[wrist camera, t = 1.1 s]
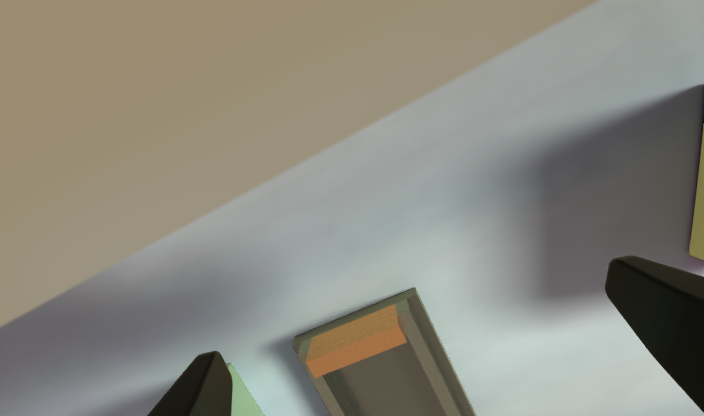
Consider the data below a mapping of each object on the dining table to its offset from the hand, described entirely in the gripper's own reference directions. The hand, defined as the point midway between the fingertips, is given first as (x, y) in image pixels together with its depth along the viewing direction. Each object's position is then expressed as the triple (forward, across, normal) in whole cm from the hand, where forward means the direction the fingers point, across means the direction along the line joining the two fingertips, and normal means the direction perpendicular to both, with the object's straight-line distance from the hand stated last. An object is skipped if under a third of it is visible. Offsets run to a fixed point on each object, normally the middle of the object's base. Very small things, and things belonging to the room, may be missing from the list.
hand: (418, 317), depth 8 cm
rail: (+10, 0, +20) cm, 22 cm away
